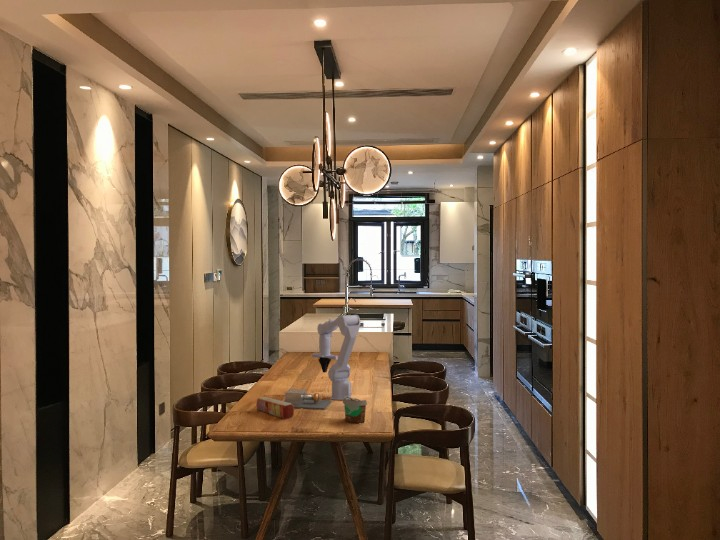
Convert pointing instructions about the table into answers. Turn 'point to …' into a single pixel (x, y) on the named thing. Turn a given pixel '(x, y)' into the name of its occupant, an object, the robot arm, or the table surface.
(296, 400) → the bearing housing
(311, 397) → the steel shaft
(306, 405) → the slate base board
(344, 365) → the robot arm
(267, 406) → the snack package
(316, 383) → the table surface
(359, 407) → the food container
